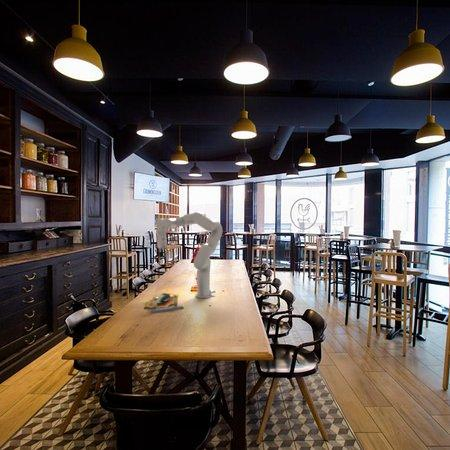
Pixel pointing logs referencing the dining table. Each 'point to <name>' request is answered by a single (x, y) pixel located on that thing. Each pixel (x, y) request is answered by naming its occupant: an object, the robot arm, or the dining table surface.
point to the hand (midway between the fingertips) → (161, 257)
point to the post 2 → (175, 300)
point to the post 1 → (155, 302)
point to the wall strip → (166, 309)
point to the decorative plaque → (161, 301)
